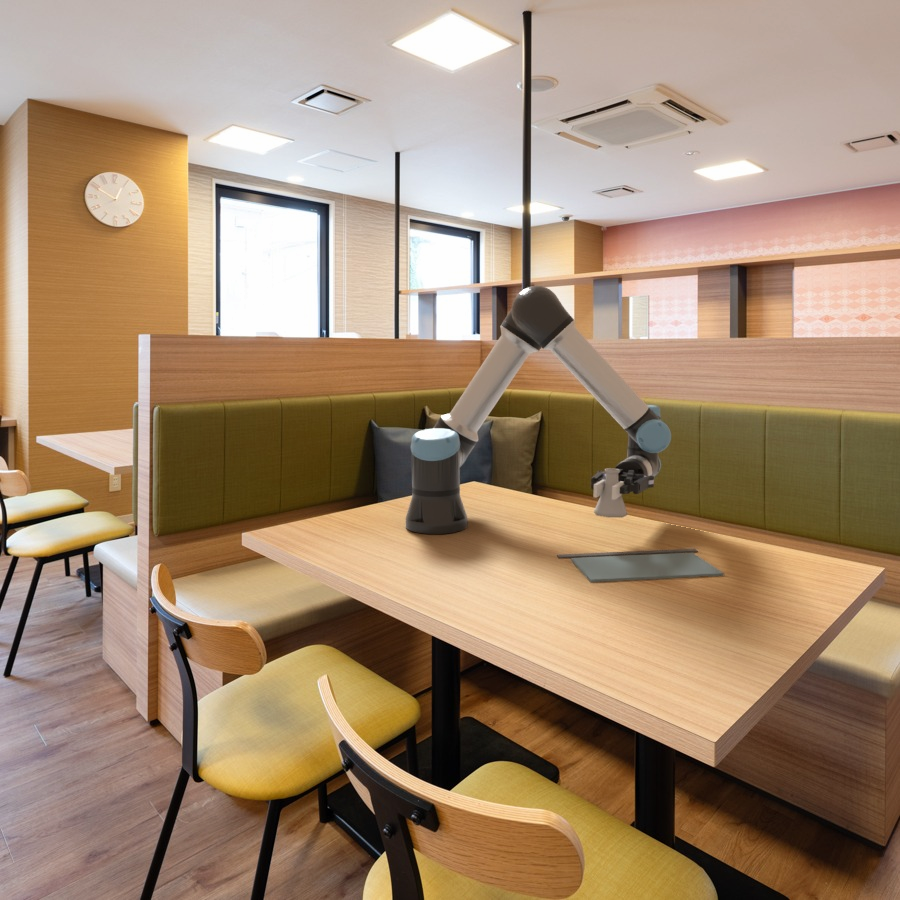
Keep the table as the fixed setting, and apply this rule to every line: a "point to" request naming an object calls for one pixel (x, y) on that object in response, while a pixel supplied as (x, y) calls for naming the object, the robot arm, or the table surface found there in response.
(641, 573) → the mat
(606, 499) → the flask
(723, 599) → the table surface
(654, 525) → the table surface
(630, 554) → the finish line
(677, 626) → the table surface
